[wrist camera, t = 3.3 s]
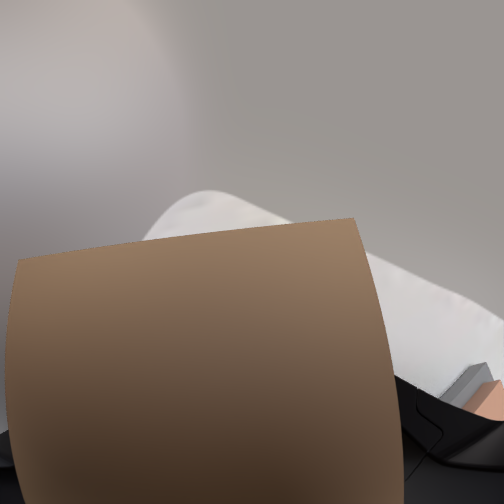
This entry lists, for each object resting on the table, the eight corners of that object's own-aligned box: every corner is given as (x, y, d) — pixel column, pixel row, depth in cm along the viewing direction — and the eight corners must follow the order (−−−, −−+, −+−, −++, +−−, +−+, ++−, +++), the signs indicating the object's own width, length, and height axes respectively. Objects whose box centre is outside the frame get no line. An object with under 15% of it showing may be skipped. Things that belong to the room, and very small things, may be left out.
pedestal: (502, 454, 9) (531, 456, 6) (407, 543, 7) (429, 561, 4) (470, 366, 13) (502, 357, 10) (359, 461, 11) (382, 476, 8)
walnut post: (291, 435, 13) (398, 568, 1) (201, 442, 12) (44, 550, 1) (280, 351, 15) (353, 217, 3) (192, 359, 15) (18, 260, 3)
